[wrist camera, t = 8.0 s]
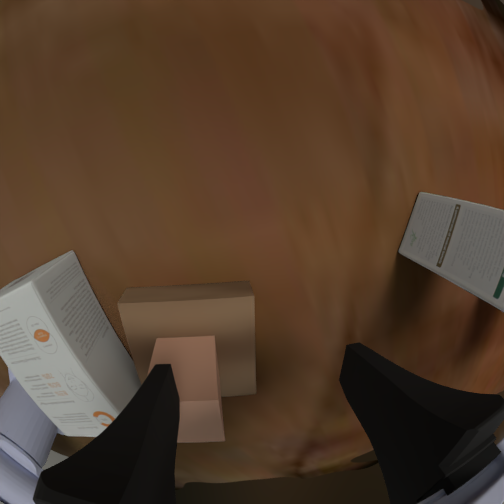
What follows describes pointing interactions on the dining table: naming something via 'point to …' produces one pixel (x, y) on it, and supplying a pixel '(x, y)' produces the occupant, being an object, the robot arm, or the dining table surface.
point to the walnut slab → (195, 326)
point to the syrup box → (459, 244)
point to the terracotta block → (194, 385)
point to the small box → (65, 348)
